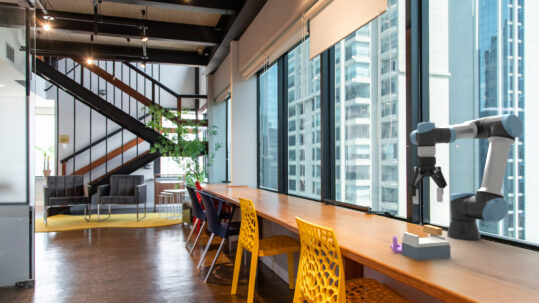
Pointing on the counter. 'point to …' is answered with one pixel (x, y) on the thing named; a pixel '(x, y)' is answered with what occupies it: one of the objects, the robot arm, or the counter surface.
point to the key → (433, 231)
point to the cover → (422, 241)
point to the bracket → (396, 246)
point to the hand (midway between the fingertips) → (427, 202)
